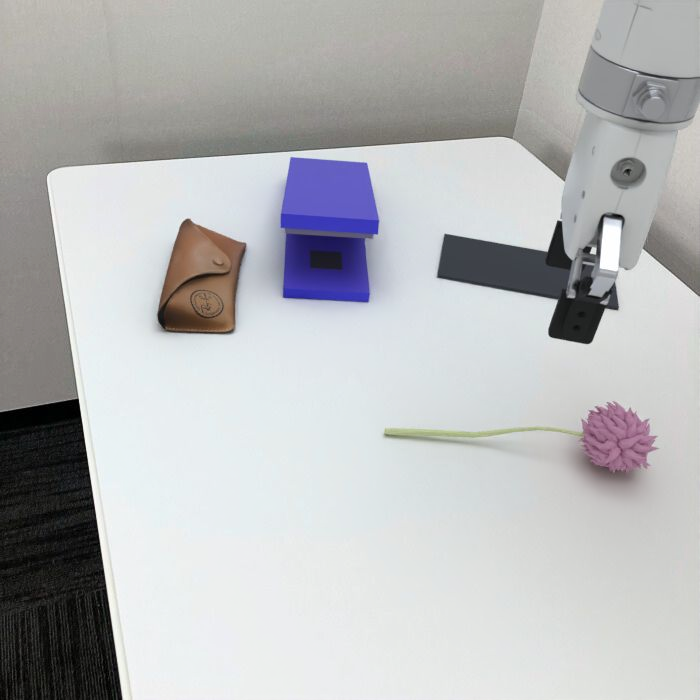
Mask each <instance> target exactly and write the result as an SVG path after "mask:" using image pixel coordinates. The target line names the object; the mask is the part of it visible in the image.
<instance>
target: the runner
mask: <svg viewBox="0 0 700 700" xmlns="http://www.w3.org/2000/svg"><path fill="white" fill-rule="evenodd" d="M547 252H548V251H546V250H540V249H535V248H528V247H523V246H517V245H511V244H506V243H500V242H494V241H489V240H485V239H478V238H472V237H466V236H460V235H455V234H449V233H444V235H443V241H442V247H441V252H440V257H439V263H438V270H437V276H436V277H437V278H439V279H445V280H450V281H456V282H460V283H461V282H462V283H467V284H472V285H478V286H483V287H490V288H493V289H494V288H495V289H499V290H505V291H511V292H515V293H516V292H517V293H521V294H528V295H532V296H539V297H545V298H550V299H554V300H558V299H559V296H560V293H561V290H562V289H567V285H568V280H569V275H570V270H568V269H562V268H557V267H551V266H548V265H546V260H545V259H546V255H547ZM593 268H594V266H593V265H587V264H586V266H585V269H584V270H583V271H581V275H580V280H582V279H583V278H584V277H585V276H588V277H591V272H592V270H593ZM580 280H579V281H580ZM612 286H613V288H612V289H611V290H612V294H611V295H610V299H609V302H608V304H607V305H606V308H605V309H611V310H616V311H619V309H620V306H619V305H620V304H619V299H618V292H617V285H616V281H615V282H614V284H613V285H612Z"/></svg>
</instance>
